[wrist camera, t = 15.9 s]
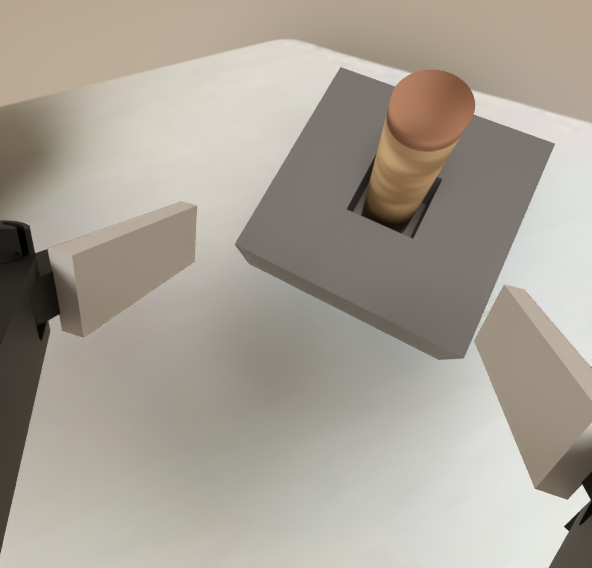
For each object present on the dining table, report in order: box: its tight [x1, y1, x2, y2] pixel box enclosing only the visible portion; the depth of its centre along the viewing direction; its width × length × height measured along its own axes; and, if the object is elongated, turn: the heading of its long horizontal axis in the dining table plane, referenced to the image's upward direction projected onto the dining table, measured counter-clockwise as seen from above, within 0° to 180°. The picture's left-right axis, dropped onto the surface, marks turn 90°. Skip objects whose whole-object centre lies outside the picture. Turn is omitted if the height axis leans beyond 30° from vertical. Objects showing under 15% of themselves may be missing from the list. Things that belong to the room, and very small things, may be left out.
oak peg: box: [361, 70, 475, 234], centre depth 28 cm, size 5×5×16 cm
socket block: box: [235, 67, 555, 360], centre depth 34 cm, size 22×22×6 cm
